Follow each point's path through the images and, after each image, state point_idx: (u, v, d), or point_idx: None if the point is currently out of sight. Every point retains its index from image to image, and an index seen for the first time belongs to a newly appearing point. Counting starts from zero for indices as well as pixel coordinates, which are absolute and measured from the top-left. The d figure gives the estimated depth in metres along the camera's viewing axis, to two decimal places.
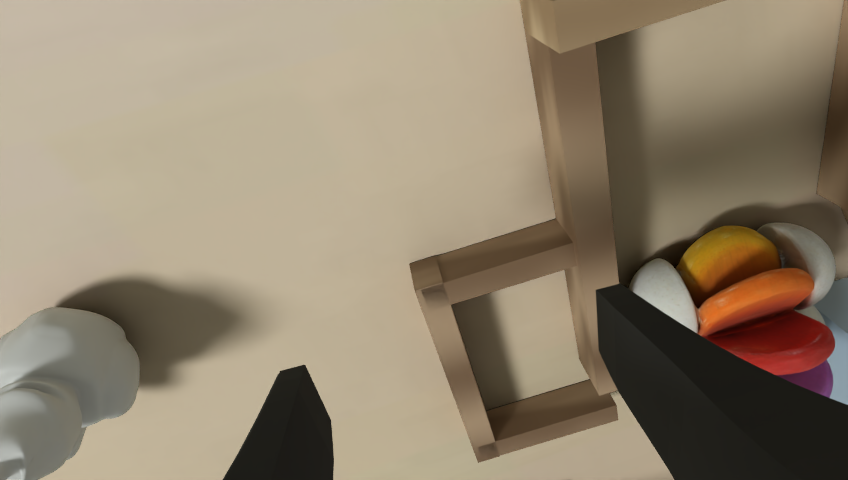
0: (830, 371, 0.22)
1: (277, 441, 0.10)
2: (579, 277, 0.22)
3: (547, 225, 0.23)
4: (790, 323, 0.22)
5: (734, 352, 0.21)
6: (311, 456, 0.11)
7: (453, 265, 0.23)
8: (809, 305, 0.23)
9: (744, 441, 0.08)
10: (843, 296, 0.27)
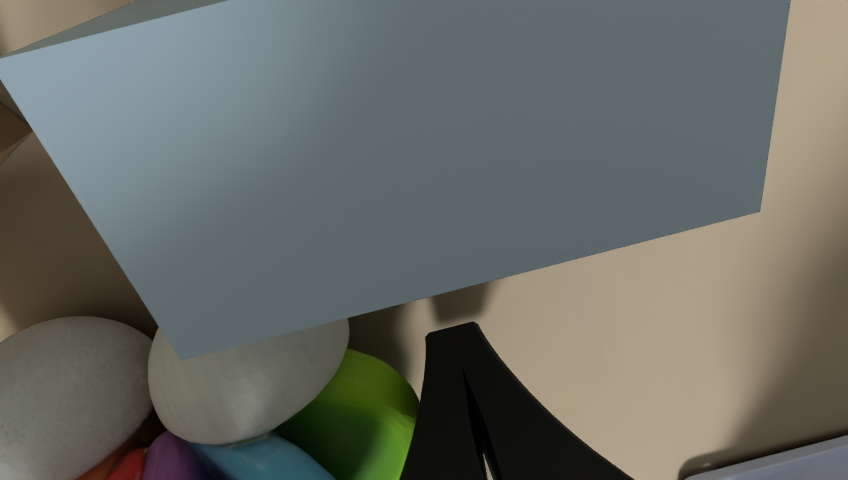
0: None
1: (459, 394, 0.10)
2: None
3: None
4: None
5: None
6: (473, 414, 0.11)
7: None
8: (71, 479, 0.09)
9: None
10: None
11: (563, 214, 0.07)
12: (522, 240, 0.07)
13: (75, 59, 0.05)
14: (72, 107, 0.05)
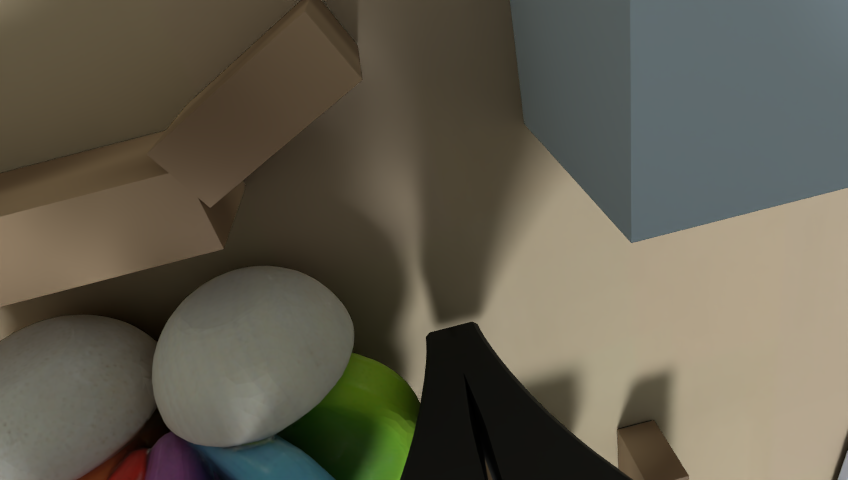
0: None
1: (460, 394, 0.10)
2: None
3: None
4: None
5: None
6: (474, 414, 0.11)
7: None
8: (73, 479, 0.09)
9: None
10: (532, 61, 0.10)
11: None
12: None
13: None
14: None
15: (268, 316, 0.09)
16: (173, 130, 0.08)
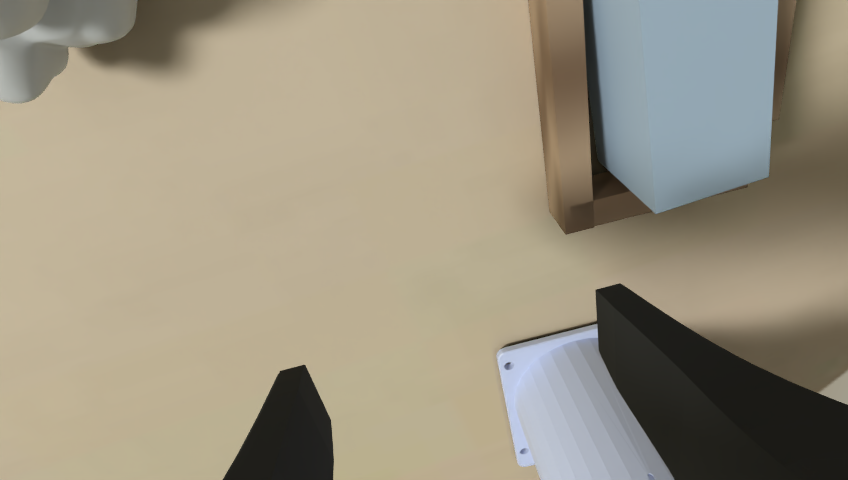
0: None
1: (277, 441, 0.10)
2: None
3: None
4: None
5: None
6: (311, 456, 0.11)
7: None
8: None
9: (743, 441, 0.08)
10: None
11: (672, 137, 0.17)
12: (664, 123, 0.17)
13: None
14: None
15: None
16: None
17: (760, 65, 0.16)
